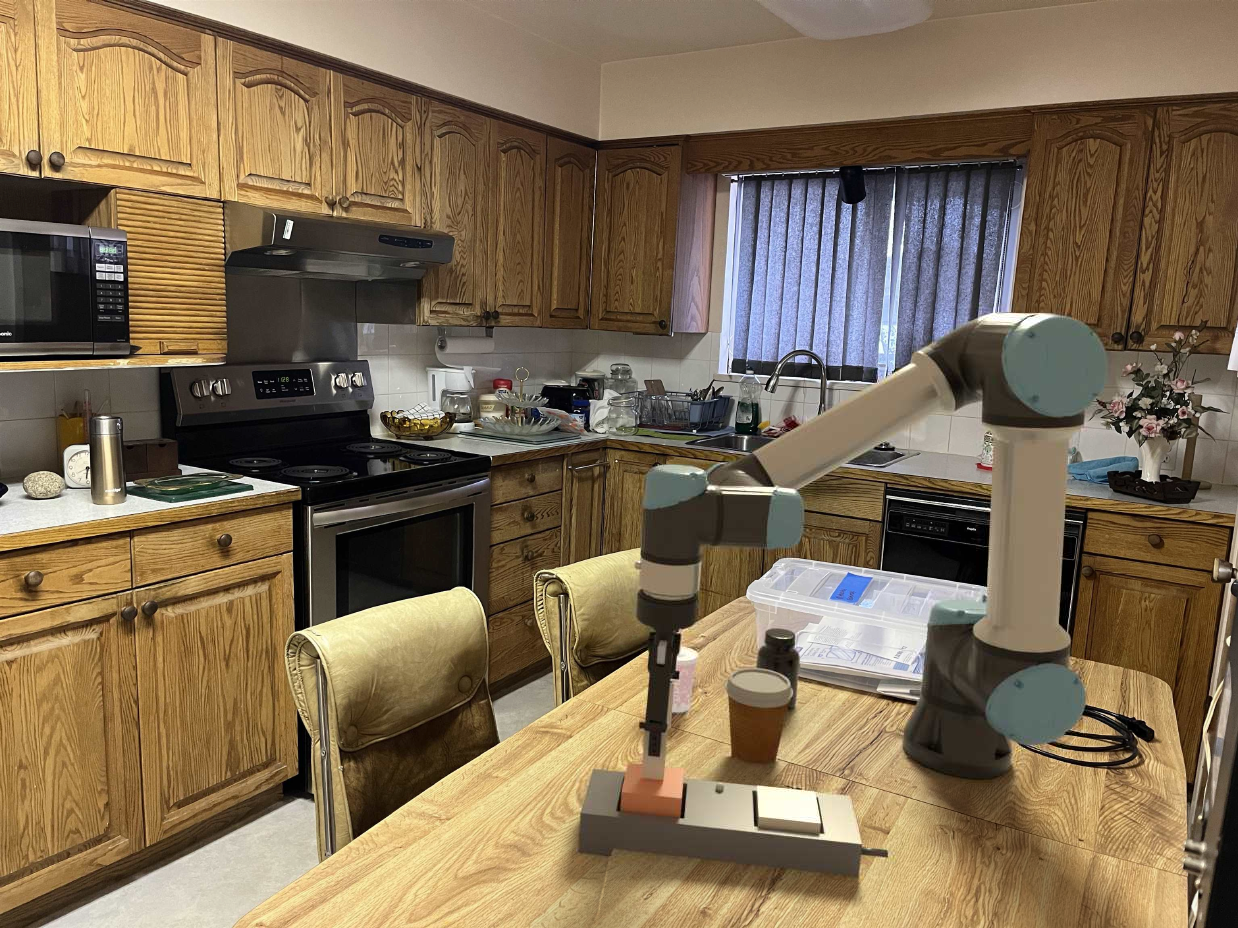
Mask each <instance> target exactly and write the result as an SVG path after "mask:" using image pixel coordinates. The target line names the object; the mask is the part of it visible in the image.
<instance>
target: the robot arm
mask: <svg viewBox="0 0 1238 928" xmlns="http://www.w3.org/2000/svg"><path fill="white" fill-rule="evenodd" d="M1106 352H1107V351H1106V349H1105V345H1103V342H1102V341H1101V339H1100V337H1099V336H1098V334H1097V333H1096V332H1094V331H1093V330H1092V329H1091V328H1090V327H1089V325H1087V324H1085V323H1084V322H1082V321H1080V320H1078V319H1076V318H1074V317H1072V316H1071V317H1070V316H1067V315H1060V314H1057V313H1054V312H1053V313H1052V312H1051V313H1049V312H1045V311H1044V312H1040V313H1028V312H1027V313H1018V312H1017V313H1016V312H1009V311H1008V312H994V313H989V314H988V313H987V314H986V315H982V316H980V317H977V318H975V319H973V320H971V321H969V322H966V323H965V324H962V325H961V326H959V327H957V328H956V329H954V330H951V331H950V332H948V333H947V334H944V335H943V336H941V337H939V338H938V339H936V340H934V341H933V342H931V343H929V344H928V345H926V346H924V347H922V348H920V349H919V350H917V351H915V352H914V353H912V355H911V359H910V362H909V363H908V365H906V366H904V367H902V368H899V369H898V370H896V371H895V372H893V373H891V374H889V375H888V376H886V377H884V378H883V379H880V380H878V381H876V382H875V383H873V384H871V385H870V386H867V387H866V388H865V389H863V390H861V391H859V392H857V393H856V394H853V395H852V396H850V397H848V398H847V399H845V400H843V401H841V402H840V403H837V404H836V405H834V406H832V407H831V408H828V409H827V410H825V411H823V412H822V413H820V414H819V415H816V416H814V417H813V418H811V419H809V420H807V421H806V422H804V423H802V424H800V425H798V426H797V427H795V428H793V429H792V430H790V431H787V432H786V433H784V434H782V435H781V436H779V437H777V438H776V439H774V440H771V441H770V442H768V443H766V444H764V445H762V446H761V447H760V448H757V449H756V450H754V451H752V452H750V453H748V454H747V455H745V456H742V457H740V458H739V459H737V460H736V461H734V462H726V461H725V462H718V463H716V464H714V465H712V466H710V467H709V468H708V469H706V471H705V470H704V469H702V468H699V467H696V466H693V465H682V464H660V465H657V466H654V467H652V468H651V469H650V470H648V471H647V474H646V477H645V485H644V486H645V487H644V494H643V499H642V502H641V503H642V513H641V514H642V515H641V533H640V535H641V536H640V554H639V556H640V557H639V559H640V560H639V561H636V562H635V563H634V565H633V566H634V569H635V570H639V573H638V586H639V588H640V589H639V590H638V591H637V594H636V595H637V597H636V608H635V609H636V611H635V615H636V618H637V620H638V622H639V623H640V624H642V625H644V626H647V627H650V628H652V629H653V630H652V629H651V630H649V637H648V641H647V651H648V659H647V673H649V674H648V687H647V688H648V689H647V697H646V709H645V720H644V721H639V723H638V728H639V729H643V731H644V732H643V747H642V749H643V750H642V762H641V764H642V774H641V778H650V779H659V780H664V772H665V767H666V756H667V743H668V742H667V740H668V730H671V729H672V716H673V712H672V706H673V692H674V681H671V679H676V680H679V673H680V671H676V661H677V656H678V655H679V650H680V643H681V644H682V638H681V633H679V632H678V631H679V629H682V630H686V629H688V628H691V627H693V626H694V625H695V624H696V622H697V619H698V605H699V595H697V593H698V591H699V590H700V586H701V585H700V584H701V582H700V581H701V573H702V571H701V569H702V552H703V547H728V548H729V547H730V548H748V549H749V548H751V549H767V550H770V551H771V550H772V549H773V550H774V549H790V548H793V547H795V546H796V545H797V544H798V543H799V542H800V540H801V538H802V535H803V531H804V524H805V508H804V502H803V498H802V496H801V493H800V492H799V491H798V490H799V489H801V488H803V487H805V486H806V485H808V484H810V483H812V482H814V481H816V480H818V479H819V478H821V477H824V476H825V475H827V474H829V473H830V472H832V471H834V470H835V469H838V468H839V467H841V466H843V465H845V464H846V463H848V462H850V461H852V460H854V459H855V458H858V457H859V456H861V455H863V454H865V453H867V452H868V451H870V450H872V449H874V448H875V447H877V446H879V445H881V444H882V443H884V442H886V441H888V440H889V439H892V438H894V437H895V436H897V435H899V434H900V433H903V432H905V431H906V430H908V429H910V428H912V427H914V426H915V425H917V424H919V423H920V422H923V421H925V420H926V419H927V418H930V417H931V416H933V415H935V414H936V413H942V414H945V415H949V414H952V413H954V412H956V411H958V410H959V409H961V408H964V407H965V406H968V405H972V404H977V403H979V402H982V403H981V424H982V425H983V427H985V429H987V430H988V432H989V433H991V435H992V437H993V446H992V447H993V448H992V449H993V450H992V451H993V452H992V469H991V470H992V471H991V490H990V491H991V493H990V494H991V495H990V497H991V498H990V515H989V518H990V519H989V520H990V521H989V538H988V562H987V563H988V564H987V565H988V566H987V583H986V584H987V585H986V586H987V587H986V601H985V602H984V601H977V600H976V601H975V600H965V599H964V600H963V599H962V600H960V599H958V600H957V599H955V600H951V599H949V600H944V601H943V600H942V601H940V602H937V603H935V604H934V605H933V606H932V607H931V610H930V614H929V617H928V622H927V624H926V627H927V632H926V633H927V634H926V640H925V642H926V643H925V649H924V650H925V651H924V659H923V661H924V662H923V670H922V679H921V688H920V694H919V695H920V696H919V699H918V701H917V702H916V704H915V706H914V709H913V711H912V712H911V715H910V716H909V718H908V720H907V722H906V724H905V726H904V728H903V735H902V736H903V738H902V747H903V749H904V751H905V752H906V753H907V754H908V756H910V758H912V759H914V761H916V762H918V763H919V764H921V765H923V766H925V767H927V768H929V769H932V770H935V772H939V773H944V774H946V775H950V776H953V777H959V778H964V779H965V778H968V779H978V780H979V779H981V780H983V779H992V778H998V777H1000V776H1002V775H1004V774H1006V773H1008V771H1009V770H1010V769H1011V765H1012V756H1013V748H1012V743H1011V741H1013V742H1014V743H1017V744H1021V745H1024V746H1040V745H1046V744H1049V743H1052V742H1054V741H1057V740H1059V739H1060V738H1062V737H1063V736H1064V735H1065V734H1066V733H1067V731H1069V730H1073V728H1074V727H1075V726H1076V725H1077V724H1078V722H1079V721H1080V719H1081V717H1082V715H1083V713H1084V711H1085V707H1086V703H1087V692H1086V688H1085V686H1084V683H1083V682H1082V679H1080V677H1079V675H1078V673H1076V671H1074V670H1073V669H1071V668H1070V658H1071V657H1070V656H1071V644H1072V643H1071V641H1072V640H1071V636H1070V634H1069V633H1068V632H1067V631H1066V630H1065V629H1064V628H1063V627H1062V625H1060V624H1059V619H1060V603H1061V586H1062V569H1063V567H1062V566H1063V551H1064V535H1065V517H1066V515H1065V514H1066V504H1067V503H1066V500H1067V484H1068V483H1067V482H1068V481H1067V480H1068V469H1069V466H1068V465H1069V450H1070V449H1069V448H1070V440H1071V438H1072V437H1073V436H1074V435H1075V434H1077V432H1078V431H1080V430H1081V429H1083V428H1084V426H1085V418H1086V417H1085V414H1086V409H1088V408H1089V407H1091V405H1093V404H1094V402H1095V399H1096V398H1097V397H1099V396H1101V394H1102V392H1103V390H1104V388H1105V385H1106V383H1107V378H1108V374H1109V373H1108V371H1109V370H1108V369H1109V365H1108V364H1109V363H1108V356H1107V353H1106Z"/></svg>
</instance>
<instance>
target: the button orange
mask: <svg viewBox="0 0 1238 928" xmlns="http://www.w3.org/2000/svg"><path fill="white" fill-rule="evenodd" d="M625 772H626V774H625V778H624V783H623V787H622V792H621V810H620V812H628V813H637V814H646V815H655V816H665V817H674V818H681V817H682V813H681V809H682V795H683V780H684V778H685V777H684V776H685V768H683V767H671V766H665V772H664V780H659V779H650V778H641V774H642V763H633V762H627V765H626V769H625Z"/></svg>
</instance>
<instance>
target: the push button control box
mask: <svg viewBox="0 0 1238 928" xmlns="http://www.w3.org/2000/svg"><path fill="white" fill-rule="evenodd" d="M625 774H626V771H617V770H608V769H600V768H593V769H592V771H591V775H590V779H589V782H588V785H587V789H586V793H585V795H584V800H583V801H582V802H583V803H582V806H581V810H580V814H579V830H578V832H579V833H578V835H579V837H578V853H584V854H591V855H598V856H599V855H600V856H607V857H608V856H609V857H612V855H613V851H614V850H621V851H631V852H639V853H647V854H656V855H657V854H658V855H664V856H665V855H666V856H672V857H673V856H674V857H682V858H690V859H691V858H692V859H699V860H707V861H708V860H709V861H710V860H711V861H716V862H726V863H735V864H742V865H743V864H744V865H751V866H753V865H754V866H761V867H771V868H777V869H779V868H780V869H786V870H787V869H788V870H796V871H803V872H805V871H806V872H811V873H813V872H814V873H819V874H820V873H823V874H830V875H837V876H838V875H839V876H847V877H856V878H858V877H860V867H861V861H862V860H861V858H862V855H865V856H877V857H884V858H888V857H889V851H888V849H884V848H883V849H882V848H875V847H866V846H865V847H864V846H863V843H862V838H861V834H860V830H859V826H858V823H857V822H858V821H857V819H856V814H855V811H854V805H853V802H852V798H851V795H847V794H846V795H844V794H834V793H828V792H827V793H826V792H816V791H814V792H815V794H816V800H817V805H818V811H819V817H820V822H821V825H820V834H819V833H809V832H800V831H791V830H782V829H773V828H764V827H755V826H754V816H755V804H756V792H757V786H758V785H751V784H742V783H741V784H740V783H732V782H724V781H723V782H721V781H712V780H705V779H704V780H703V779H695V778H694V779H693V778H685V777H684V780H683V795H682V809H681V814H684V818H674V817H665V816H655V815H646V814H637V813H628V812H620V810H621V792H622V787H623V783H624V778H625Z"/></svg>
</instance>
